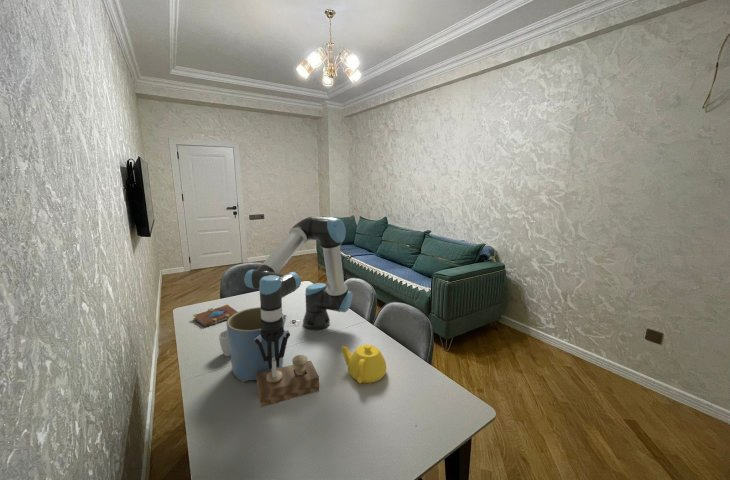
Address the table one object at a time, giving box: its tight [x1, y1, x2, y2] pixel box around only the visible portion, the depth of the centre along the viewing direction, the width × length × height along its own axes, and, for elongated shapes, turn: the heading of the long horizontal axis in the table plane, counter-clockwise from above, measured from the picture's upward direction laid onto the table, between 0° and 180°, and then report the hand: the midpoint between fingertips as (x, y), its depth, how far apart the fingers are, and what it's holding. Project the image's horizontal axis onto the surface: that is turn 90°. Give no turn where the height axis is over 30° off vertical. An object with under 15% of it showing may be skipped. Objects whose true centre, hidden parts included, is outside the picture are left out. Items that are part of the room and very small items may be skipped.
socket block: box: [256, 360, 320, 408], centre depth 120 cm, size 22×12×6 cm, turn 115°
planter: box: [225, 306, 285, 383], centre depth 131 cm, size 23×23×24 cm
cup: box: [218, 329, 231, 357], centre depth 143 cm, size 8×8×10 cm
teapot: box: [341, 344, 387, 384], centre depth 130 cm, size 20×19×13 cm
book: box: [192, 303, 238, 328], centre depth 181 cm, size 16×25×5 cm, turn 140°
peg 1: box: [266, 371, 282, 384], centre depth 118 cm, size 6×6×7 cm
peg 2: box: [292, 354, 308, 377], centre depth 121 cm, size 6×6×7 cm
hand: (274, 374), depth 117 cm, fingers closed
